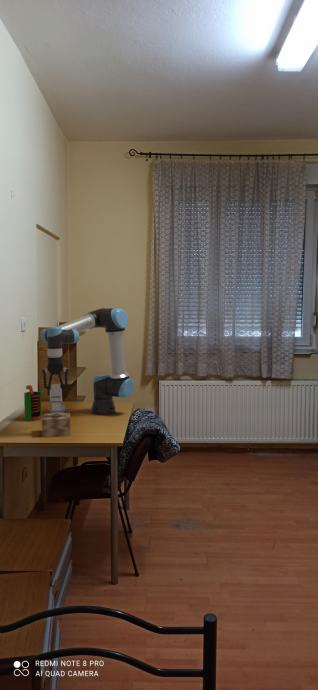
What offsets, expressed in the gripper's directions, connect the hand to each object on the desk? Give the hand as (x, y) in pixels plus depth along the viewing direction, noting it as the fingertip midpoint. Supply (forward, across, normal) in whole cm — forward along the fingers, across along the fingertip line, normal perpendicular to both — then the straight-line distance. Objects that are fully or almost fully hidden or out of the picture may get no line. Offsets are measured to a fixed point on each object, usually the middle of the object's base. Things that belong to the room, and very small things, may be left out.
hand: (56, 401), depth 268 cm
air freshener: (+17, +1, -49) cm, 52 cm away
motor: (+17, +15, -35) cm, 42 cm away
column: (+12, 0, 0) cm, 12 cm away
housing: (+17, 0, 0) cm, 17 cm away
